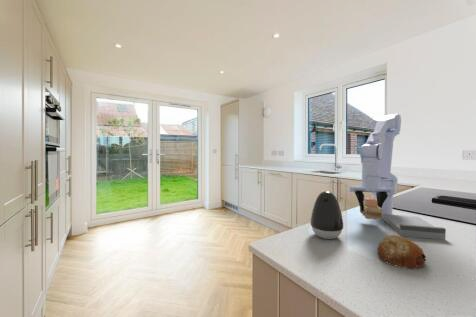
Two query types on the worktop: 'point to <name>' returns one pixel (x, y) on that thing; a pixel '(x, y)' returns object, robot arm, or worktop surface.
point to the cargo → (370, 201)
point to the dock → (414, 227)
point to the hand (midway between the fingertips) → (370, 210)
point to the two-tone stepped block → (372, 212)
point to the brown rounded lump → (401, 252)
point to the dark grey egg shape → (326, 216)
